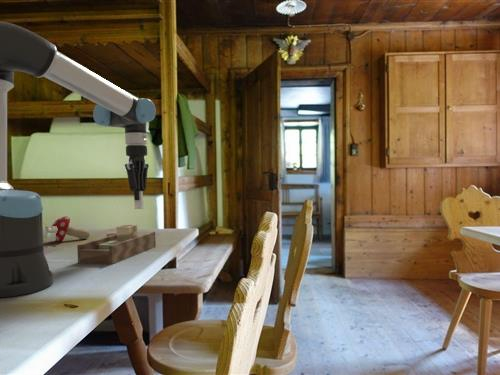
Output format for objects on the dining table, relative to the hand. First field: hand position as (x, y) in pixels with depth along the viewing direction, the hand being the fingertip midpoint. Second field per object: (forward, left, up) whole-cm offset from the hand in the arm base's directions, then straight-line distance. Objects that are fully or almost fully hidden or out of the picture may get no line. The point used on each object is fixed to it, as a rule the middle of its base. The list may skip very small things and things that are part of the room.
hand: (139, 208), depth 138 cm
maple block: (-8, 0, -10) cm, 13 cm away
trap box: (-13, 0, -14) cm, 19 cm away
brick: (+13, +17, -15) cm, 26 cm away
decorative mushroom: (+8, +37, -15) cm, 41 cm away
